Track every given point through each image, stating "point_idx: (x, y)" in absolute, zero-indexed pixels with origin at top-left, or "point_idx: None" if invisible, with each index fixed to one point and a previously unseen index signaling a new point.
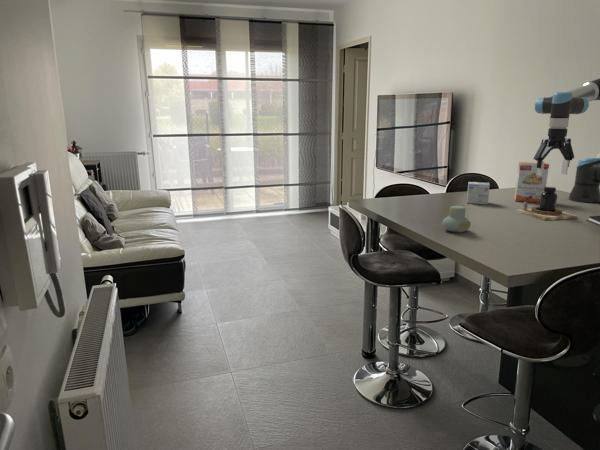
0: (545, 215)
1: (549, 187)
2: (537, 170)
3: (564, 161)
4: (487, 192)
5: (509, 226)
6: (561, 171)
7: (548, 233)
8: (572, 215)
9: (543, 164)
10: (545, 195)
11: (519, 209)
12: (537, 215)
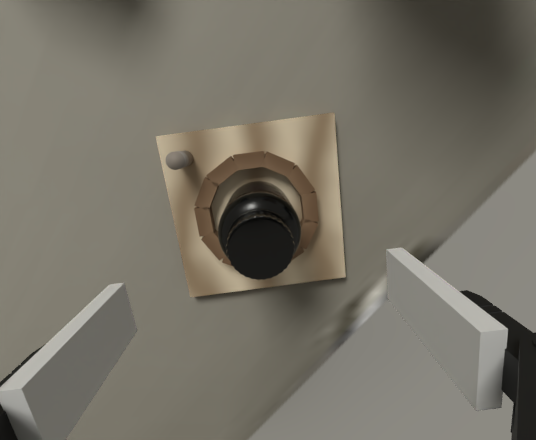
0: (218, 261)
1: (252, 252)
2: (86, 310)
3: (464, 346)
4: None
5: (21, 353)
6: (395, 260)
7: (110, 430)
8: (328, 272)
9: (72, 420)
10: (223, 252)
11: (169, 137)
12: (185, 258)
